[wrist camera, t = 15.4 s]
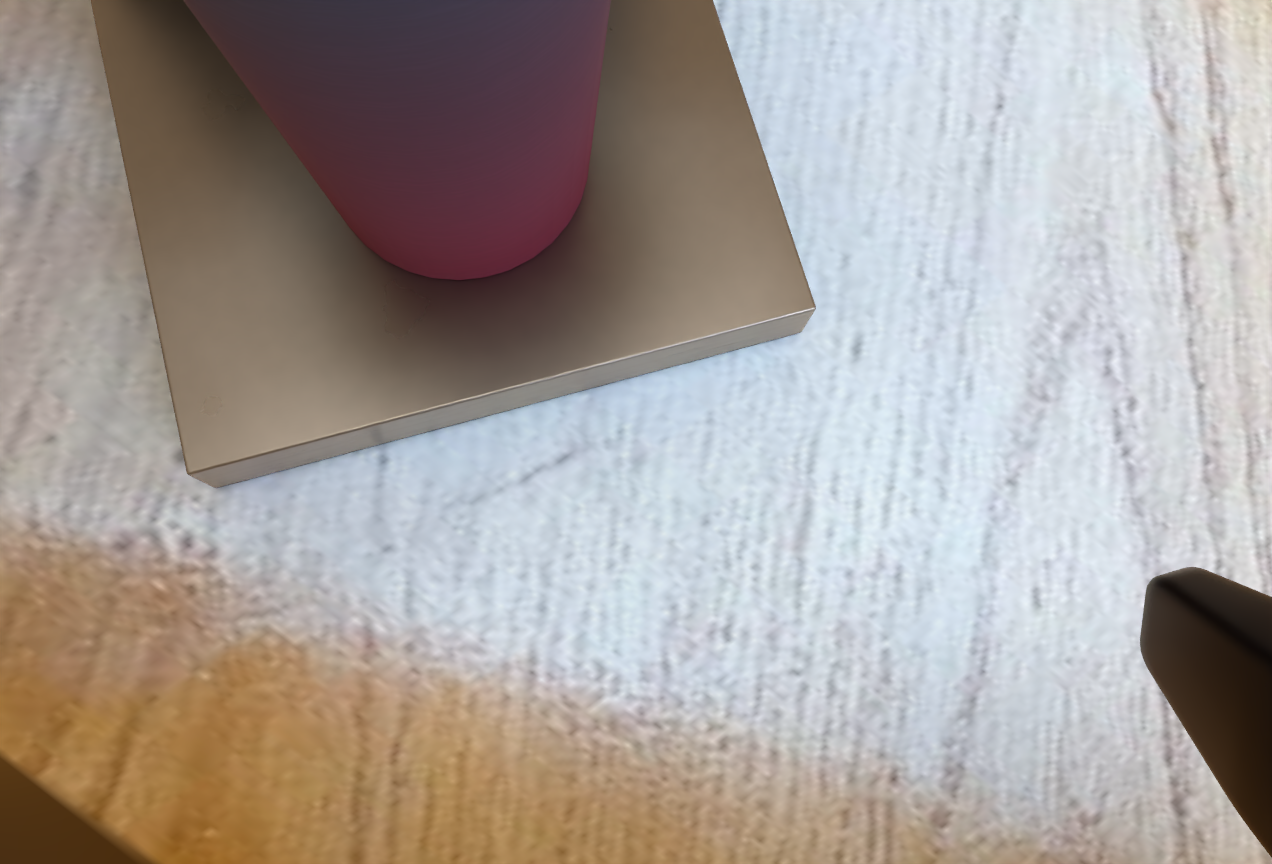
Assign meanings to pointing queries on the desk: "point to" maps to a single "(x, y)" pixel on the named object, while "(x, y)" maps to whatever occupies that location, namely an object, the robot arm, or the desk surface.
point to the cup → (430, 116)
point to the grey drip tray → (419, 305)
